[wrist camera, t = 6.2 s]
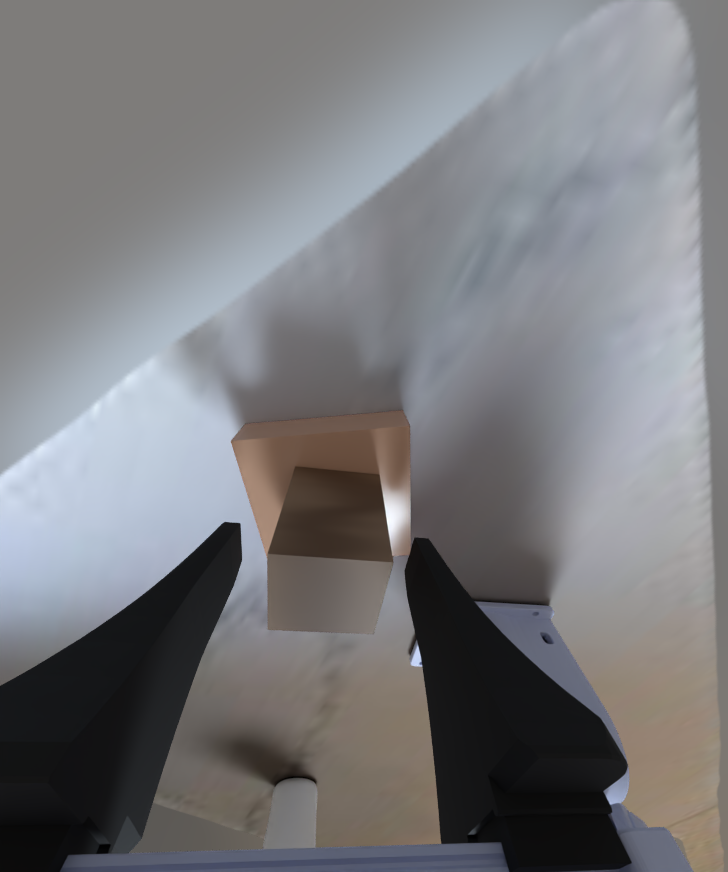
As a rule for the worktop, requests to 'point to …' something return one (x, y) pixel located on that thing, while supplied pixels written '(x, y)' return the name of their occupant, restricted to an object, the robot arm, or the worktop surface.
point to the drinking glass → (292, 815)
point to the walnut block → (329, 554)
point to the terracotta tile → (327, 463)
